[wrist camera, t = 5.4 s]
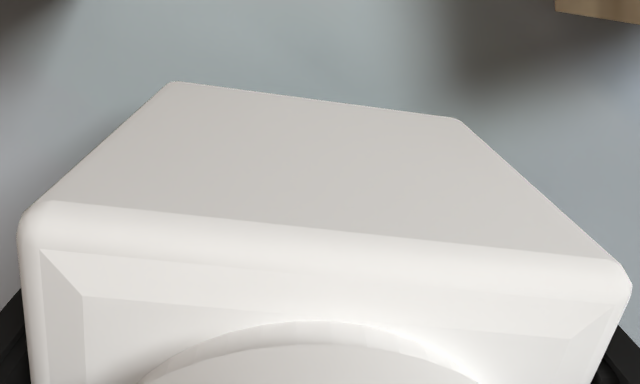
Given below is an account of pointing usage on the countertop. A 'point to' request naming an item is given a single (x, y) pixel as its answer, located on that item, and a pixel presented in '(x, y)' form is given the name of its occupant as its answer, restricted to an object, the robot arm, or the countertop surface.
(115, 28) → the countertop surface
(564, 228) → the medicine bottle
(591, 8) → the oak cube
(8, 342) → the robot arm
